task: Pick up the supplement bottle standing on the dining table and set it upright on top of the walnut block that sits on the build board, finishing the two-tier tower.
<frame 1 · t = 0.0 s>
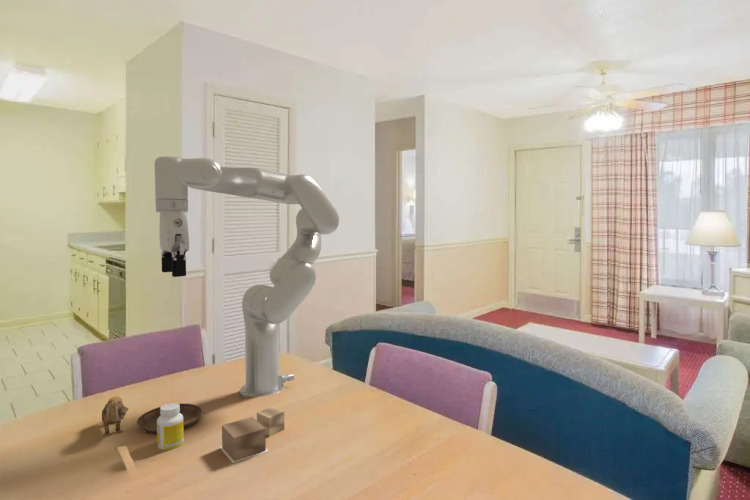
hand: (173, 274, 117), 37 cm above the table, tool pointing down, fingers open, 9 cm apart
walnut block: (243, 448, 100), point 1 cm above the table, touching build board
supplement bottle: (170, 449, 102), on the table
saucer: (170, 426, 113), on the table
oak cube: (270, 430, 109), point 1 cm above the table, touching build board
build board: (252, 451, 101), on the table
lion figurine: (116, 429, 111), on the table
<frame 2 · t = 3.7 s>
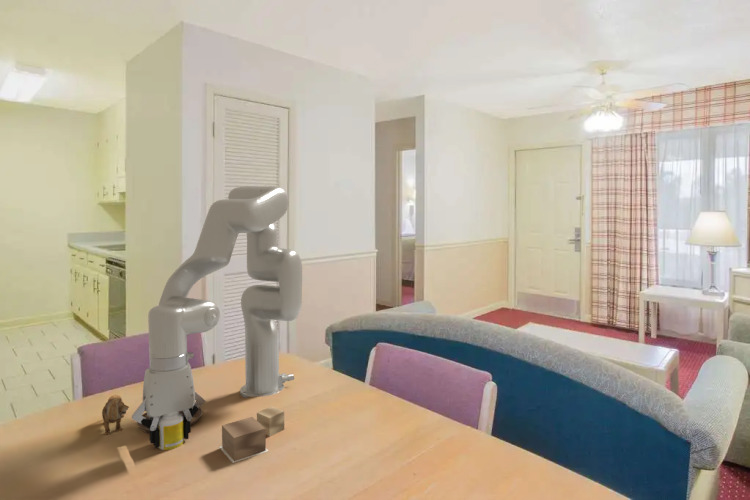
hand: (170, 440, 102), 2 cm above the table, tool pointing down, fingers closed on supplement bottle, 5 cm apart
supplement bottle: (170, 449, 102), on the table, touching gripper
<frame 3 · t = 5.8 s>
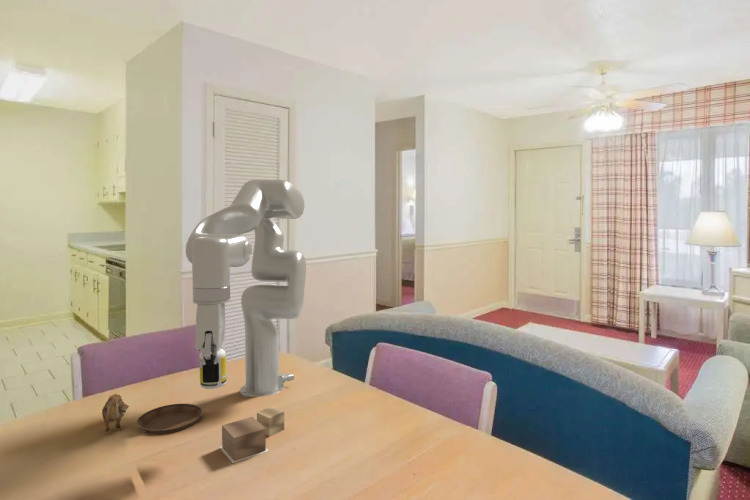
hand: (213, 375, 99), 17 cm above the table, tool pointing down, fingers closed on supplement bottle, 5 cm apart
supplement bottle: (213, 385, 100), point 15 cm above the table, touching gripper
when the fingers open (10 cm above the table, at t = 8.0 s): supplement bottle drops 1 cm, resting on walnut block.
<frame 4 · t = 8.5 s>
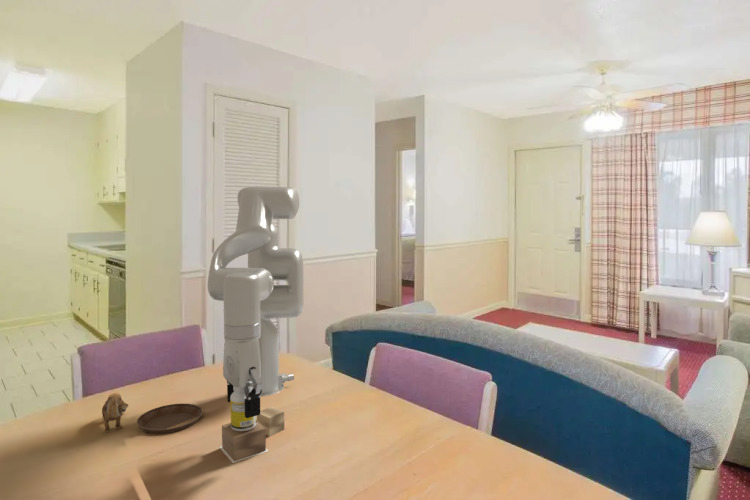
hand: (243, 408, 99), 10 cm above the table, tool pointing down, fingers open, 9 cm apart
walnut block: (243, 448, 100), point 1 cm above the table, touching supplement bottle, build board
supplement bottle: (243, 427, 100), point 6 cm above the table, touching walnut block
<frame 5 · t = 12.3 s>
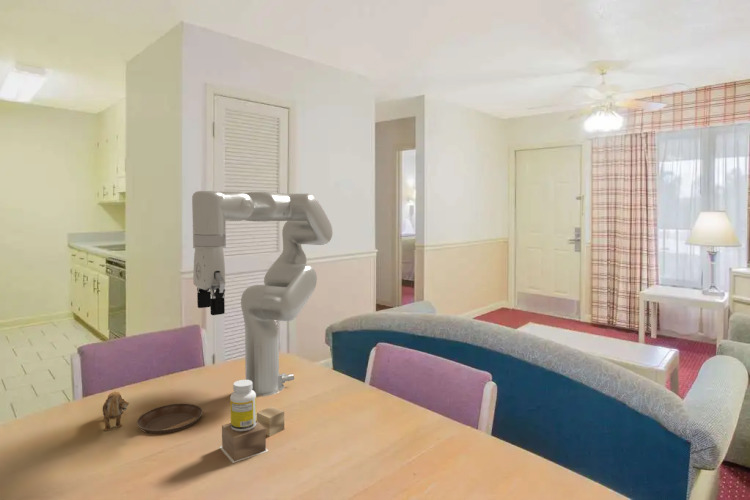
hand: (210, 310, 113), 28 cm above the table, tool pointing down, fingers open, 9 cm apart
at the end: supplement bottle 0.2 cm off-centre on the walnut block, point 4.8 cm above the walnut block's base; supplement bottle tilted 0°; the gripper is holding nothing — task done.
